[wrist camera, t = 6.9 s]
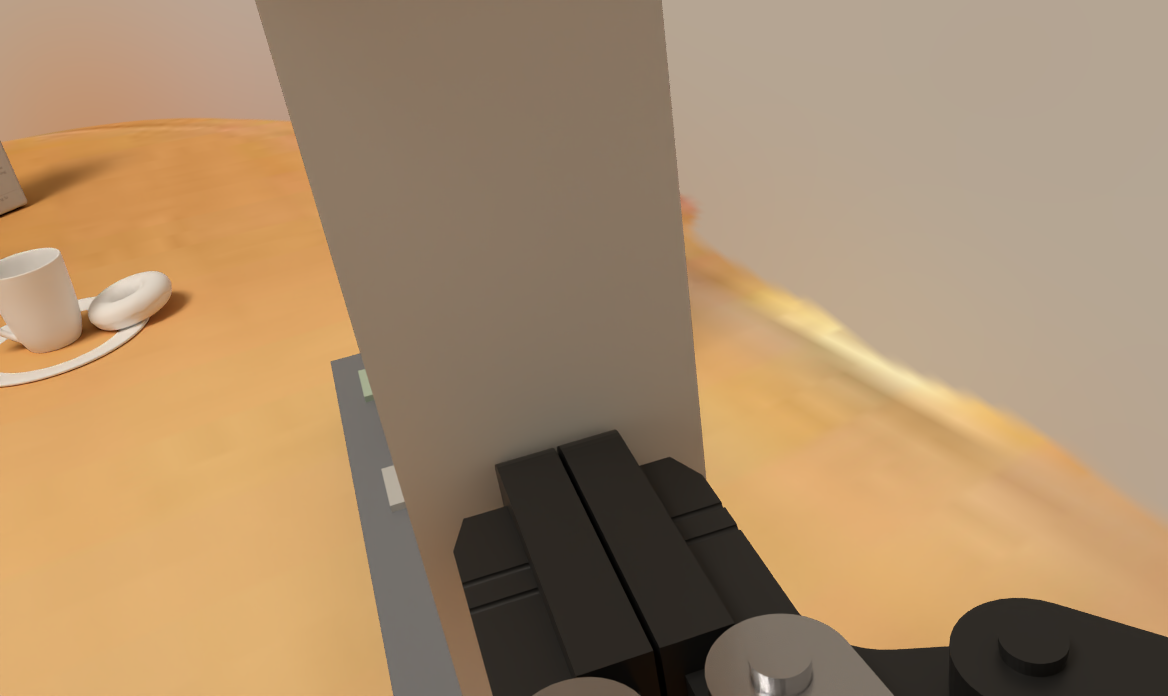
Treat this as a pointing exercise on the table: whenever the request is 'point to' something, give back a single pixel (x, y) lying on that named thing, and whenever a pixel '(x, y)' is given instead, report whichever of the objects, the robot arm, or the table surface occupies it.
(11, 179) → the skincare box
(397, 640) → the switch panel
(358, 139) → the orange switch
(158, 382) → the table surface
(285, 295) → the table surface
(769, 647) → the robot arm
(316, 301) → the table surface
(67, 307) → the teacup and saucer
